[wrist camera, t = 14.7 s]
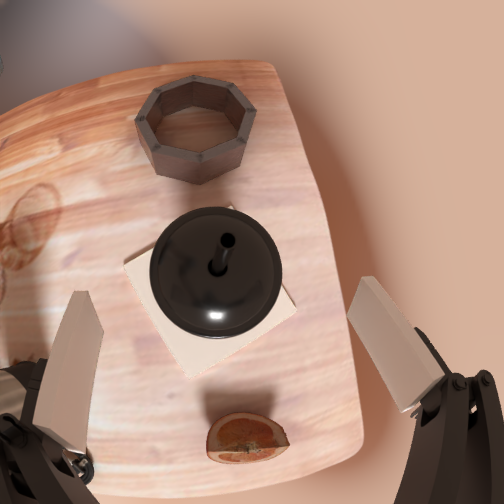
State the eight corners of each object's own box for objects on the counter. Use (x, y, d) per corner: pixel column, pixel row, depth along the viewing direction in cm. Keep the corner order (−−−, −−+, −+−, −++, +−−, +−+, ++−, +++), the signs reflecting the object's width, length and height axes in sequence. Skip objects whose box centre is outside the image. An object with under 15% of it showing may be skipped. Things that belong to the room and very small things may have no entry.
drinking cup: (256, 309, 29) (363, 299, 9) (189, 337, 27) (166, 392, 7) (228, 244, 30) (279, 126, 10) (162, 269, 28) (95, 183, 8)
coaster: (123, 266, 27) (122, 265, 27) (231, 207, 31) (231, 205, 31) (189, 378, 26) (189, 379, 26) (295, 311, 30) (297, 311, 29)
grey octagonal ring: (131, 124, 31) (124, 101, 26) (216, 91, 35) (219, 67, 30) (170, 199, 30) (166, 180, 25) (265, 155, 34) (275, 132, 29)
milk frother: (22, 345, 22) (-58, 351, 8) (120, 424, 23) (73, 491, 9) (2, 417, 18) (-58, 444, 4) (88, 487, 19) (52, 548, 5)
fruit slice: (278, 406, 27) (292, 421, 22) (275, 453, 26) (288, 472, 21) (204, 408, 26) (206, 425, 21) (205, 455, 24) (207, 477, 19)
